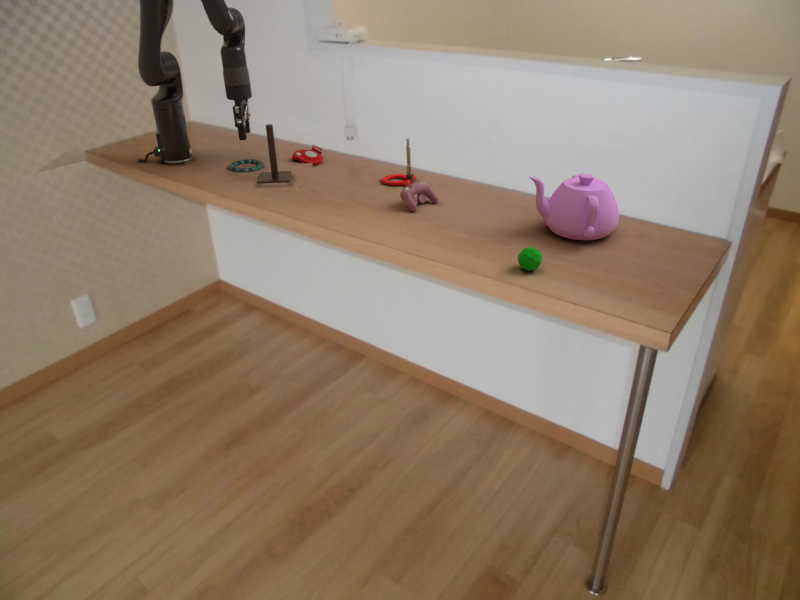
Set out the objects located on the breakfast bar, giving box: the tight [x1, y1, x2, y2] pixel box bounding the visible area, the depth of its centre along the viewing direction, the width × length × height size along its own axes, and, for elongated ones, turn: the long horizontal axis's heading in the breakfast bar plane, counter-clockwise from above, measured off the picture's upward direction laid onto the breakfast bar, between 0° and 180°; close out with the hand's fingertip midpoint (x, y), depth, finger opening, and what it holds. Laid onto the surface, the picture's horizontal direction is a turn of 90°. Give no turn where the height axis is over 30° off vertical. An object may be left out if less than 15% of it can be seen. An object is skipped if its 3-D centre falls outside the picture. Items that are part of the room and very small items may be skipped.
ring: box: [227, 158, 266, 174], centre depth 192 cm, size 11×11×2 cm
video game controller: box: [399, 181, 439, 213], centre depth 162 cm, size 10×5×7 cm, turn 135°
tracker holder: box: [291, 144, 324, 166], centre depth 199 cm, size 12×4×10 cm
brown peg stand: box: [257, 123, 293, 185], centre depth 178 cm, size 9×9×16 cm
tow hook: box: [381, 138, 417, 187], centre depth 177 cm, size 8×13×9 cm
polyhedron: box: [517, 246, 543, 272], centre depth 129 cm, size 5×5×5 cm
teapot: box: [528, 172, 620, 241], centre depth 144 cm, size 22×22×14 cm
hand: (245, 136), depth 191 cm, fingers open, 8 cm apart
